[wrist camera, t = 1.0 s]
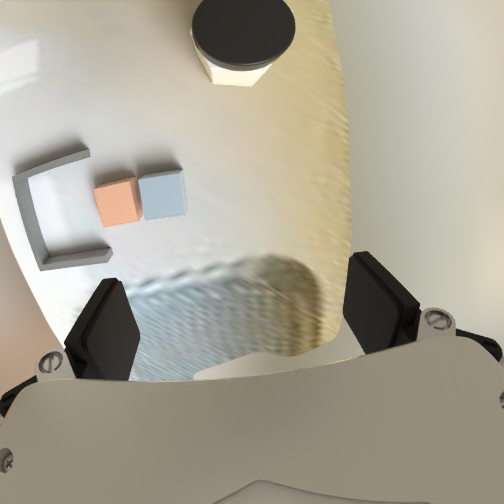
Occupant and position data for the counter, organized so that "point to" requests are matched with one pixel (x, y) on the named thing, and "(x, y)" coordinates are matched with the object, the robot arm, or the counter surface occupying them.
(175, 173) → the tile
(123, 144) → the counter surface
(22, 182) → the tray
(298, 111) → the counter surface
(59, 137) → the counter surface
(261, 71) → the jar
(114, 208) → the tile
